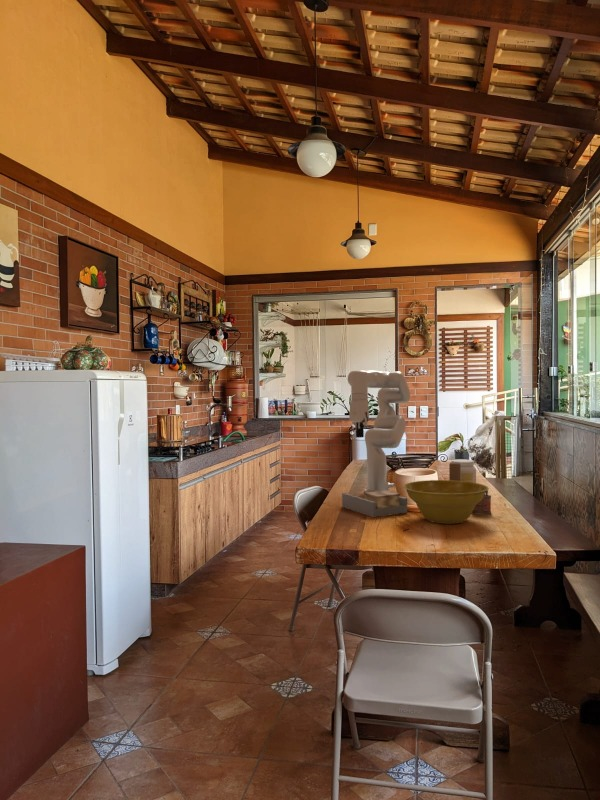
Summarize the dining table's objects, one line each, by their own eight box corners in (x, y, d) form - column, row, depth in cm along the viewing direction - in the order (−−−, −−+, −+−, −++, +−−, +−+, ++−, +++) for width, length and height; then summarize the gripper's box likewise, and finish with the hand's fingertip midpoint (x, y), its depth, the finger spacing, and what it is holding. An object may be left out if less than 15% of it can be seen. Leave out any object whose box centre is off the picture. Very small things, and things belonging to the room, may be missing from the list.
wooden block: (471, 503, 253) (471, 463, 252) (470, 505, 249) (470, 464, 248) (450, 502, 256) (450, 462, 255) (449, 504, 252) (449, 463, 251)
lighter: (491, 513, 233) (491, 488, 233) (490, 514, 230) (490, 490, 230) (471, 511, 237) (471, 487, 236) (470, 513, 234) (470, 488, 233)
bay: (374, 502, 256) (374, 489, 256) (407, 512, 235) (407, 498, 235) (342, 506, 248) (342, 493, 248) (373, 517, 227) (373, 502, 227)
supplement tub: (456, 492, 279) (456, 458, 278) (480, 495, 271) (480, 460, 271) (444, 496, 270) (444, 460, 269) (469, 499, 262) (469, 462, 261)
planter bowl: (390, 514, 233) (389, 481, 233) (460, 509, 242) (459, 477, 241) (427, 533, 202) (427, 495, 202) (506, 526, 211) (506, 490, 210)
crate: (386, 505, 243) (386, 490, 243) (400, 509, 235) (400, 493, 235) (364, 508, 238) (364, 492, 238) (377, 512, 230) (377, 496, 229)
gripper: (343, 397, 267) (344, 436, 267) (361, 397, 254) (362, 438, 254) (357, 397, 270) (357, 435, 271) (375, 397, 257) (375, 438, 258)
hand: (359, 437), depth 262 cm, fingers closed
